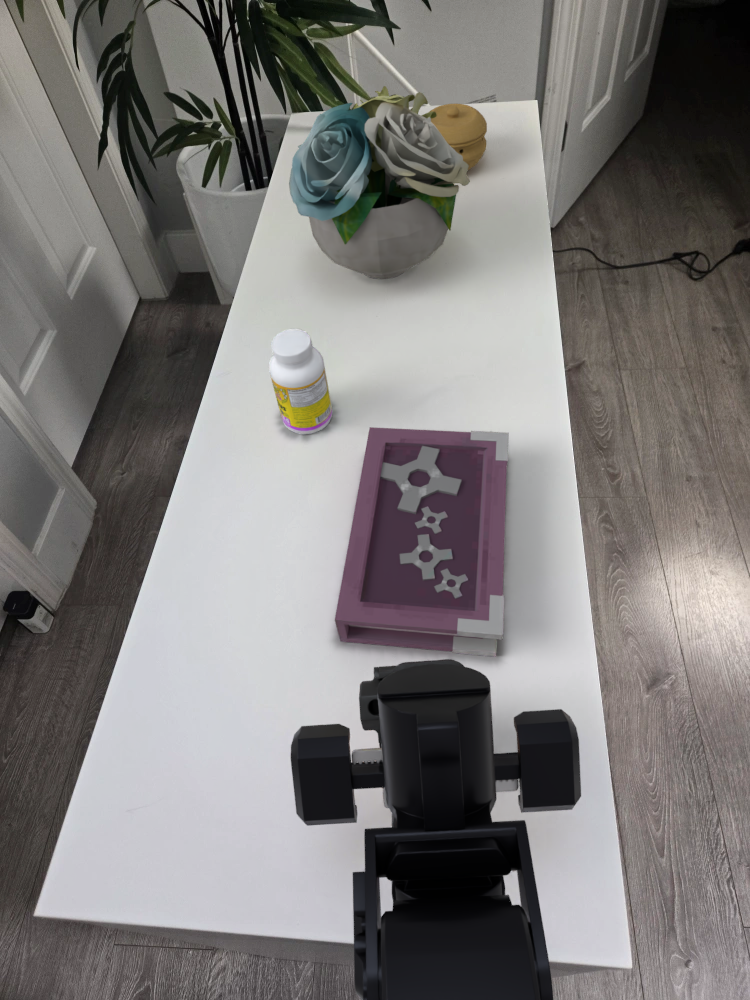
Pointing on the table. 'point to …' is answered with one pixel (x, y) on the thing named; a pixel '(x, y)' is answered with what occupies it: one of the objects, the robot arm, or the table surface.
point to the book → (427, 542)
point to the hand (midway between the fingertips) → (428, 712)
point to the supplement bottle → (300, 382)
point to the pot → (462, 130)
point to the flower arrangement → (377, 184)
